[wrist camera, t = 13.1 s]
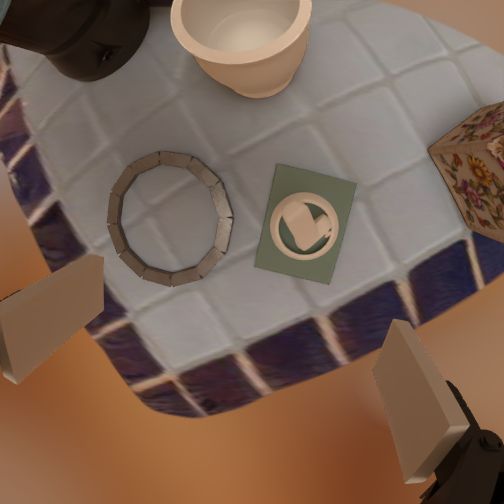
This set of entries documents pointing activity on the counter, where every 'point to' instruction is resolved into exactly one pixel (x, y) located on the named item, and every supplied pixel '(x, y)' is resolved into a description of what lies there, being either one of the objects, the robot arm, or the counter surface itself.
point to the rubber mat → (340, 200)
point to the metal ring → (219, 200)
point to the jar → (245, 40)
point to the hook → (304, 224)
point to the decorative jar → (476, 169)
